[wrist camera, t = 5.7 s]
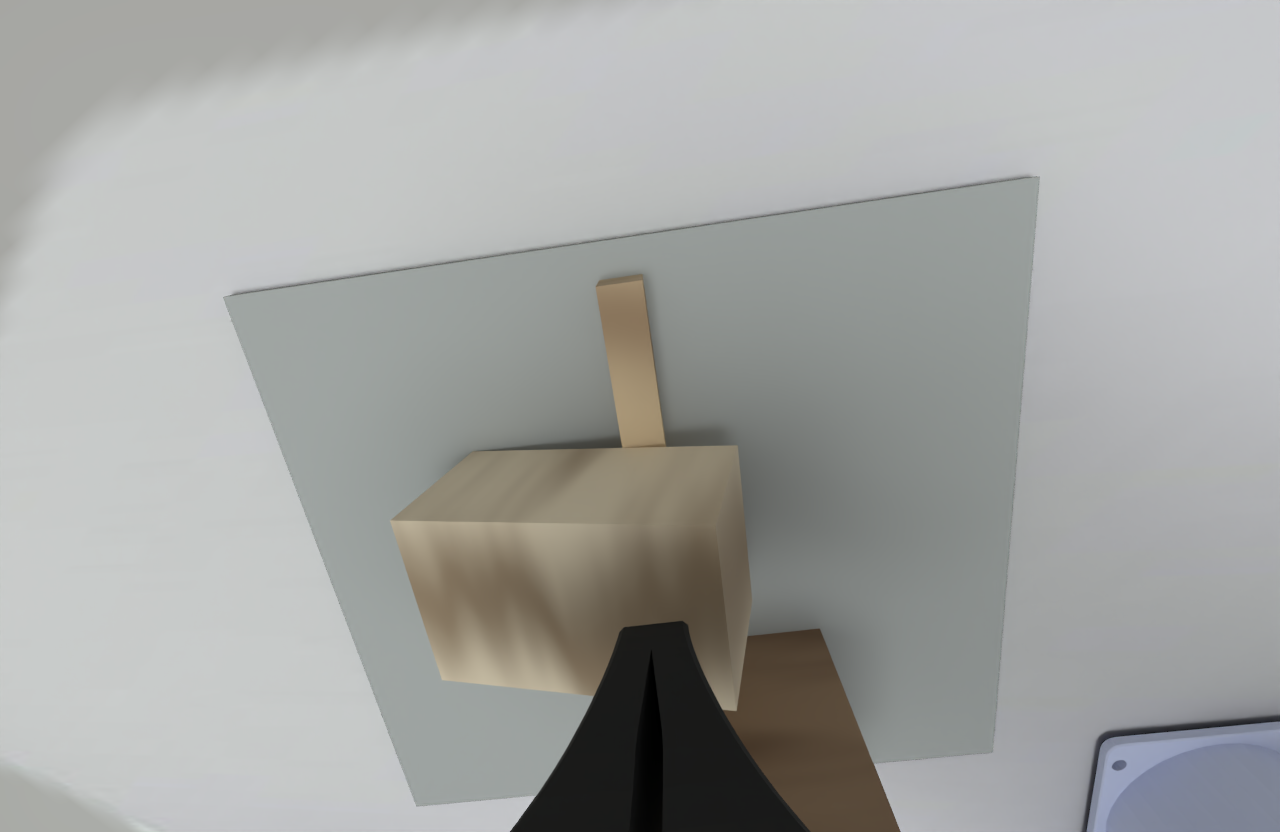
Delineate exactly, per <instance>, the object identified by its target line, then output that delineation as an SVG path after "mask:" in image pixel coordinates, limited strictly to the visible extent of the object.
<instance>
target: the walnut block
mask: <svg viewBox="0 0 1280 832" xmlns="http://www.w3.org/2000/svg"><path fill="white" fill-rule="evenodd" d="M723 711H724V713H725V715H726V717H727V718H728V720H729V722H730V723H731V725H732V727H733V728H734V730H735V732H736V733H737V735H738V736H739V738H740V740H741V741H742V743H743V744H744V746H745V747H746V749H747V750H748V752H749V753H750V755H751V756H752V758H753V759H754V761H755V762H756V763H757V765H758V766H759V768H760V769H761V770H762V772H763V773H764V775H765V776H766V777H767V779H768V780H769V781H770V783H771V784H772V785H773V787H774V788H775V789H776V791H777V792H778V793H779V795H780V796H781V797H782V798H783V800H784V801H785V802H786V803H787V804H788V805H789V807H790V808H791V809H792V810H793V811H794V813H795V814H796V815H797V816H798V817H799V819H800V820H801V821H802V822H803V823H804V824H805V826H806V827H807V828H808V829H809V830H810V832H900V829H899V827H898V824H897V822H896V819H895V817H894V814H893V812H892V809H891V807H890V804H889V802H888V799H887V797H886V794H885V792H884V789H883V786H882V784H881V781H880V779H879V776H878V774H877V771H876V769H875V766H874V764H873V761H872V759H871V756H870V754H869V751H868V749H867V746H866V744H865V741H864V739H863V736H862V734H861V731H860V728H859V726H858V723H857V721H856V718H855V716H854V713H853V711H852V708H851V706H850V703H849V701H848V698H847V696H846V693H845V691H844V688H843V686H842V683H841V681H840V678H839V676H838V673H837V670H836V668H835V665H834V663H833V660H832V658H831V655H830V653H829V650H828V648H827V645H826V643H825V640H824V638H823V635H822V633H821V630H820V628H819V629H810V630H800V631H791V632H782V633H773V634H763V635H754V636H747V642H746V649H745V656H744V663H743V670H742V677H741V684H740V691H739V698H738V705H737V711H730V710H723Z"/></svg>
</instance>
